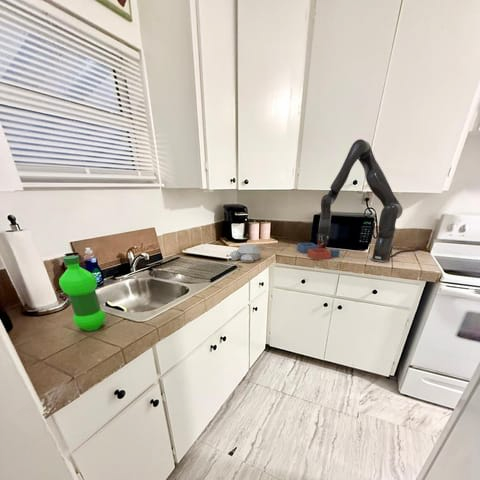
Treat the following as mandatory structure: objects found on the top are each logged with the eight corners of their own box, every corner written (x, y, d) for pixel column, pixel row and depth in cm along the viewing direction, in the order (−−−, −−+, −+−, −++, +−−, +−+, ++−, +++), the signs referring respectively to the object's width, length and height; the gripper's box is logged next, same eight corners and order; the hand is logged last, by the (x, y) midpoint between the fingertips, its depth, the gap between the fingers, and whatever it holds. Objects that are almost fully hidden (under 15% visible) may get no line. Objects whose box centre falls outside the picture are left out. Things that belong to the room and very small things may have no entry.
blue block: (335, 255, 178) (336, 248, 176) (338, 256, 174) (339, 250, 172) (329, 255, 177) (330, 249, 175) (332, 257, 173) (333, 250, 171)
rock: (254, 264, 159) (254, 248, 155) (225, 261, 167) (225, 245, 162) (264, 257, 174) (265, 242, 169) (237, 254, 181) (237, 240, 176)
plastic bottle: (97, 335, 87) (73, 262, 75) (69, 333, 89) (42, 260, 77) (114, 321, 96) (96, 253, 84) (89, 319, 97) (67, 252, 85)
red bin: (322, 254, 179) (323, 248, 177) (330, 258, 170) (331, 252, 168) (307, 255, 177) (308, 249, 175) (314, 259, 168) (315, 253, 166)
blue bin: (310, 248, 195) (311, 242, 193) (317, 252, 185) (318, 245, 183) (296, 249, 193) (297, 243, 191) (303, 253, 183) (303, 246, 181)
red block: (322, 249, 193) (323, 243, 191) (325, 250, 190) (326, 244, 187) (316, 249, 193) (317, 243, 190) (319, 251, 189) (320, 244, 187)
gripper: (334, 226, 177) (330, 251, 185) (324, 223, 190) (321, 247, 198) (324, 227, 176) (321, 252, 184) (314, 224, 188) (312, 247, 196)
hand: (321, 249), depth 191 cm, fingers open, 5 cm apart
